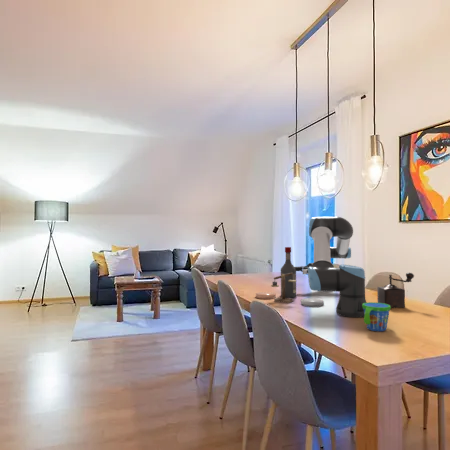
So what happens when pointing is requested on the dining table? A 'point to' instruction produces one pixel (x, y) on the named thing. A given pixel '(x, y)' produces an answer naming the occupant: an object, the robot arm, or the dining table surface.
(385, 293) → the manual coffee grinder
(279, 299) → the balance
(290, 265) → the liquor
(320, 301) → the grey dish
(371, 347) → the dining table surface
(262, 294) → the terracotta dish
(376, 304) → the snack cup
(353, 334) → the dining table surface
